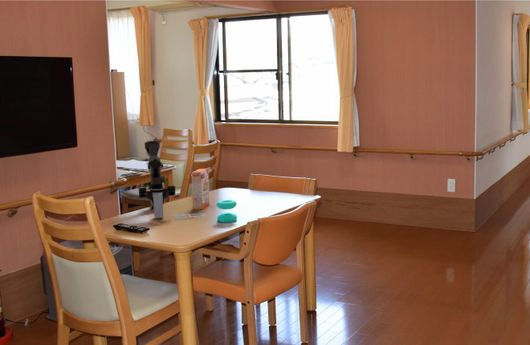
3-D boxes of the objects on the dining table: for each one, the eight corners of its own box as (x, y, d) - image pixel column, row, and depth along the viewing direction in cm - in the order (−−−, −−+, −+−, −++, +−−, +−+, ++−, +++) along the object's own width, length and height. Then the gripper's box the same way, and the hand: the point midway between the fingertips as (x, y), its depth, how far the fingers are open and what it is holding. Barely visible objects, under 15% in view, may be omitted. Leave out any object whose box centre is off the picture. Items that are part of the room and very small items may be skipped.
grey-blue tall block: (154, 216, 332) (152, 193, 330) (163, 215, 333) (161, 192, 331) (154, 218, 328) (153, 195, 326) (163, 217, 329) (162, 194, 327)
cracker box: (203, 210, 350) (201, 172, 347) (192, 209, 351) (190, 172, 348) (210, 204, 364) (208, 168, 361) (200, 204, 365) (198, 168, 362)
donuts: (224, 198, 327) (240, 200, 322) (224, 217, 329) (241, 219, 323) (212, 202, 319) (228, 203, 314) (213, 222, 320) (229, 223, 315)
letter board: (172, 215, 338) (172, 214, 338) (202, 212, 343) (202, 212, 343) (176, 220, 327) (176, 219, 327) (207, 217, 331) (207, 216, 331)
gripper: (137, 172, 329) (139, 197, 320) (174, 170, 333) (176, 194, 324) (138, 184, 338) (139, 209, 329) (173, 182, 341) (176, 206, 332)
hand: (158, 204), depth 328 cm, fingers open, 5 cm apart
